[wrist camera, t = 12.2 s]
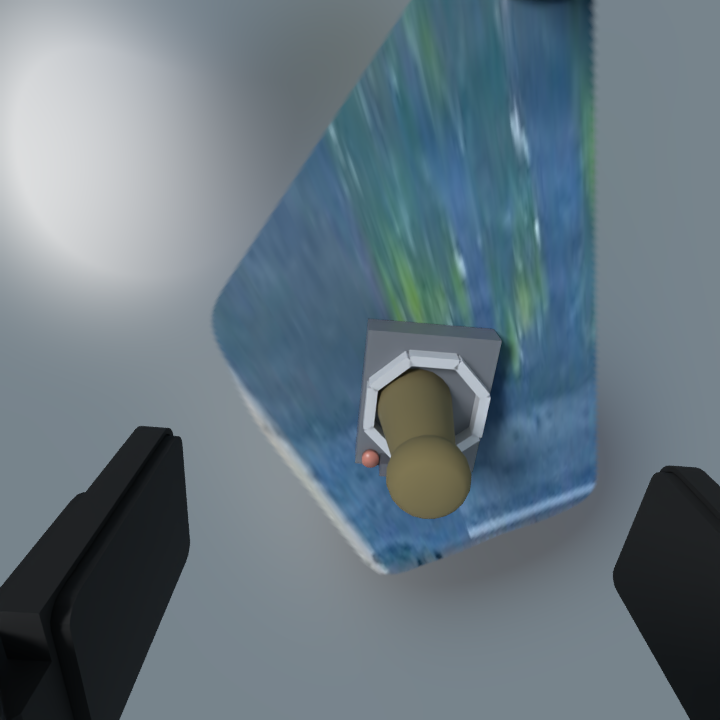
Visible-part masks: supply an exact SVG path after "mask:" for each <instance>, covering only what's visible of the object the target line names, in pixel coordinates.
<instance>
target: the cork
mask: <svg viewBox="0 0 720 720" xmlns="http://www.w3.org/2000/svg"><path fill="white" fill-rule="evenodd" d="M376 410H377V413H378V417H379V420H380V423H381V426H382V429H383V432H384V435H385V439H386V442H387V445H388V448H389V451H390V454H391V458H390V460H389V462H388V465H387V471H386V483H387V487H388V490H389V492H390V495H391V497H392V499H393V501H394V502H395V503H396V504H397V505H398V506H399V508H401V509H402V510H403V511H405V512H407V513H408V514H410V515H412V516H415V517H419V518H422V519H435V518H439V517H443V516H446V515H448V514H450V513H452V512H454V511H455V510H456V509H457V508H458V507H459V506H461V505H462V504H463V502H464V501H465V499H466V497H467V495H468V493H469V491H470V485H471V471H470V467H469V464H468V461H467V458H466V457H465V455H464V454H463V453H462V452H461V450H460V449H459V448H458V447H457V445H456V444H455V431H454V419H453V407H452V397H451V393H450V390H449V387H448V386H447V384H446V383H445V382H444V380H443V379H442V378H441V377H439V376H438V375H436V374H435V373H433V372H430V371H427V370H424V369H407V370H406V371H404V372H403V373H402V374H400V375H399V376H398V377H396V378H395V379H394V380H392V381H391V382H389V383H388V384H387V385H385V386H384V387H383V388H381V389H380V390H379V391H378V394H377V403H376Z"/></svg>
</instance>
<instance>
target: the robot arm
mask: <svg viewBox="0 0 720 720" xmlns="http://www.w3.org/2000/svg"><path fill="white" fill-rule="evenodd" d="M189 546H190V536H189V524H188V512H187V498H186V485H185V473H184V460H183V447H182V440H181V438H180V437H179V436H173V432H172V430H171V429H170V428H160V427H147V426H139V427H137V428H136V429H135V430H134V432H133V433H132V434H131V436H130V437H129V438H128V439H127V441H126V442H125V443H124V444H123V446H122V447H121V448H120V449H119V451H118V452H117V453H116V454H115V456H114V457H113V458H112V460H111V461H110V462H109V464H108V465H107V466H106V467H105V468H104V470H103V471H102V472H101V473H100V475H99V476H98V477H97V478H96V480H95V481H94V482H93V483H92V485H91V486H90V487H89V488H88V490H87V491H86V492H83V493H81V494H78V495H77V496H76V497H75V498H74V499H72V500H71V501H70V503H69V504H68V505H67V506H66V508H65V509H64V510H63V511H62V512H61V514H60V515H59V516H58V517H57V519H56V520H55V521H54V523H52V525H51V526H50V527H49V528H48V530H47V531H46V532H45V533H44V535H43V536H42V537H41V538H40V539H39V541H38V542H37V543H36V544H35V546H34V547H33V548H32V549H31V550H30V552H29V553H28V554H27V555H26V557H25V558H24V559H23V560H22V562H21V563H20V564H19V565H18V567H17V568H16V569H15V570H14V571H13V573H12V574H11V575H10V576H9V578H8V579H7V580H6V581H5V582H4V584H3V585H2V586H1V587H0V720H119V719H120V717H121V714H122V712H123V710H124V707H125V705H126V703H127V700H128V698H129V695H130V693H131V691H132V688H133V686H134V683H135V681H136V679H137V676H138V674H139V672H140V669H141V667H142V664H143V662H144V660H145V657H146V655H147V652H148V650H149V648H150V645H151V643H152V641H153V639H154V636H155V634H156V631H157V629H158V627H159V624H160V622H161V620H162V617H163V615H164V612H165V610H166V608H167V605H168V603H169V601H170V598H171V596H172V593H173V591H174V589H175V586H176V584H177V582H178V579H179V577H180V574H181V572H182V569H183V567H184V565H185V563H186V560H187V557H188V553H189ZM613 580H614V585H615V588H616V590H617V592H618V594H619V595H620V597H621V599H622V601H623V602H624V604H625V606H626V608H627V609H628V611H629V613H630V615H631V616H632V618H633V620H634V622H635V623H636V625H637V627H638V629H639V631H640V632H641V634H642V636H643V638H644V639H645V641H646V643H647V645H648V646H649V648H650V650H651V652H652V653H653V655H654V657H655V659H656V660H657V662H658V664H659V666H660V667H661V669H662V671H663V673H664V674H665V676H666V678H667V680H668V682H669V683H670V685H671V687H672V688H673V690H674V692H675V694H676V695H677V697H678V699H679V700H680V702H681V704H682V706H683V708H684V709H685V711H686V713H687V715H688V717H689V718H690V720H720V486H719V485H718V484H717V483H716V482H715V481H714V480H712V478H710V477H709V476H708V475H707V474H706V473H705V472H704V471H703V470H701V469H699V468H694V467H682V466H665V467H664V468H662V469H661V471H660V472H658V473H655V474H654V475H653V477H652V478H651V481H650V483H649V485H648V488H647V490H646V493H645V495H644V498H643V500H642V502H641V505H640V507H639V510H638V512H637V514H636V517H635V519H634V522H633V524H632V527H631V529H630V531H629V534H628V536H627V539H626V541H625V544H624V546H623V548H622V551H621V553H620V556H619V558H618V560H617V563H616V565H615V568H614V571H613Z"/></svg>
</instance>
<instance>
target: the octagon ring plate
mask: <svg viewBox="0 0 720 720" xmlns="http://www.w3.org/2000/svg"><path fill="white" fill-rule="evenodd" d="M501 343H502V340H501V339H500V338H499V336H498V335H497V333H496V332H495V330H494V329H486V328H474V327H462V326H450V325H438V324H426V323H414V322H402V321H389V320H377V319H368V325H367V336H366V346H365V356H364V366H363V376H362V386H361V397H360V407H359V417H358V427H357V437H356V452H355V463H362V464H363V465H364V466H366V467H370V468H371V467H375V466H376V465H379V476H386V471H387V465H388V462H389V460H390V458H391V454H390V451H389V448H388V445H387V442H386V439H385V435H384V432H383V429H382V426H381V423H380V420H379V417H378V413H377V410H376V403H377V394H378V391H379V390H380V389H381V388H383V387H384V386H385V385H387V384H388V383H389V382H391V381H392V380H394V379H395V378H396V377H398V376H399V375H400V374H402V373H403V372H404V371H406V370H407V369H424V370H427V371H430V372H433V373H435V374H436V375H438V376H439V377H441V378H442V379H443V380H444V382H445V383H446V384H447V386H448V387H449V390H450V393H451V397H452V407H453V419H454V431H455V444H456V445H457V447H458V448H459V449H460V450H461V452H462V453H463V454H464V455H465V457H466V458H467V461H468V464H469V467H470V471H471V472H473V468H474V464H475V459H476V455H477V450H478V446H479V441H480V438H482V434H483V430H484V426H485V421H486V417H487V412H488V408H489V403H490V399H491V397H490V392H491V388H492V383H493V379H494V374H495V370H496V365H497V361H498V356H499V352H500V347H501Z"/></svg>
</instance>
